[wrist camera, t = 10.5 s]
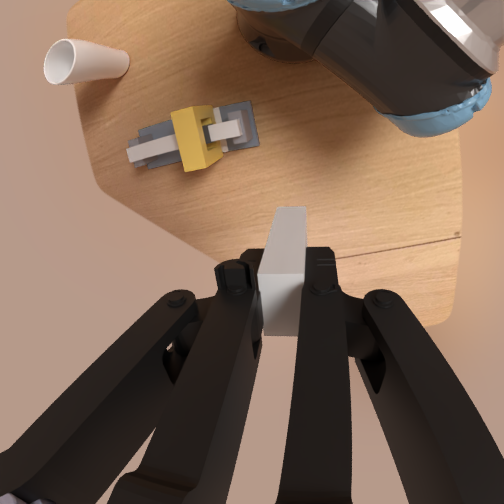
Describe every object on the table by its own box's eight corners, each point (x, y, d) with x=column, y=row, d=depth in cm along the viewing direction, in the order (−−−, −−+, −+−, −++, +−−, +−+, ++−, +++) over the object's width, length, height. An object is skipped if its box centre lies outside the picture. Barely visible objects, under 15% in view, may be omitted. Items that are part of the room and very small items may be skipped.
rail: (140, 129, 45) (116, 135, 39) (250, 100, 40) (240, 100, 34) (150, 168, 48) (128, 179, 42) (259, 145, 43) (251, 152, 37)
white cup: (141, 64, 39) (83, 58, 26) (114, 90, 42) (54, 95, 29) (123, 38, 37) (64, 28, 24) (97, 64, 40) (37, 64, 27)
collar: (193, 109, 40) (170, 112, 33) (212, 105, 40) (192, 106, 33) (204, 160, 44) (184, 172, 37) (223, 156, 43) (206, 167, 36)
